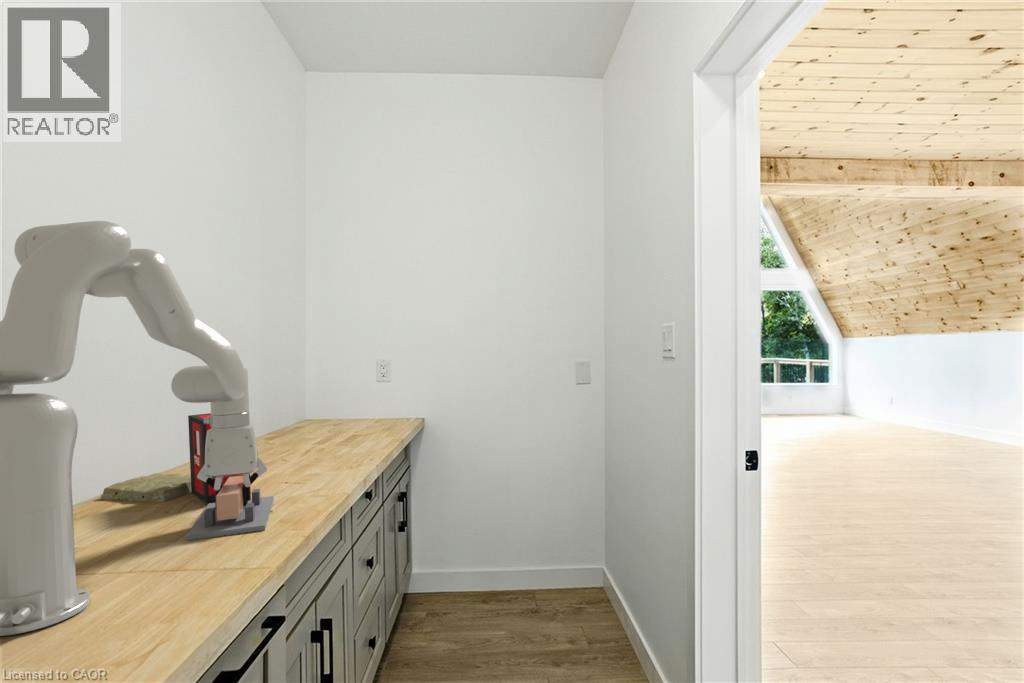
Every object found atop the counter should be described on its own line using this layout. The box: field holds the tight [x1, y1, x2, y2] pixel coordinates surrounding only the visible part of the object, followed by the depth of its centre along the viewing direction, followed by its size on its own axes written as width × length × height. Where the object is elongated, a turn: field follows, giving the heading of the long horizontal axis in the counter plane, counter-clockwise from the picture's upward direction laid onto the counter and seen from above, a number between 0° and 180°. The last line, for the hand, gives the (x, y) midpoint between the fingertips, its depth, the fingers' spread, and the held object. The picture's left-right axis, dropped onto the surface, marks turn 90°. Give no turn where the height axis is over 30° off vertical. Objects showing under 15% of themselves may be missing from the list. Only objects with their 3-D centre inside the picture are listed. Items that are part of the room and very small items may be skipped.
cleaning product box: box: [187, 412, 242, 505], centre depth 148 cm, size 16×9×20 cm, turn 40°
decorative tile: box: [100, 472, 192, 503], centre depth 153 cm, size 19×20×4 cm
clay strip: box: [216, 476, 244, 521], centre depth 126 cm, size 18×4×5 cm, turn 18°
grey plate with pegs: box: [186, 488, 274, 541], centre depth 126 cm, size 24×14×4 cm, turn 18°
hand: (234, 504), depth 126 cm, fingers closed on clay strip, 3 cm apart
